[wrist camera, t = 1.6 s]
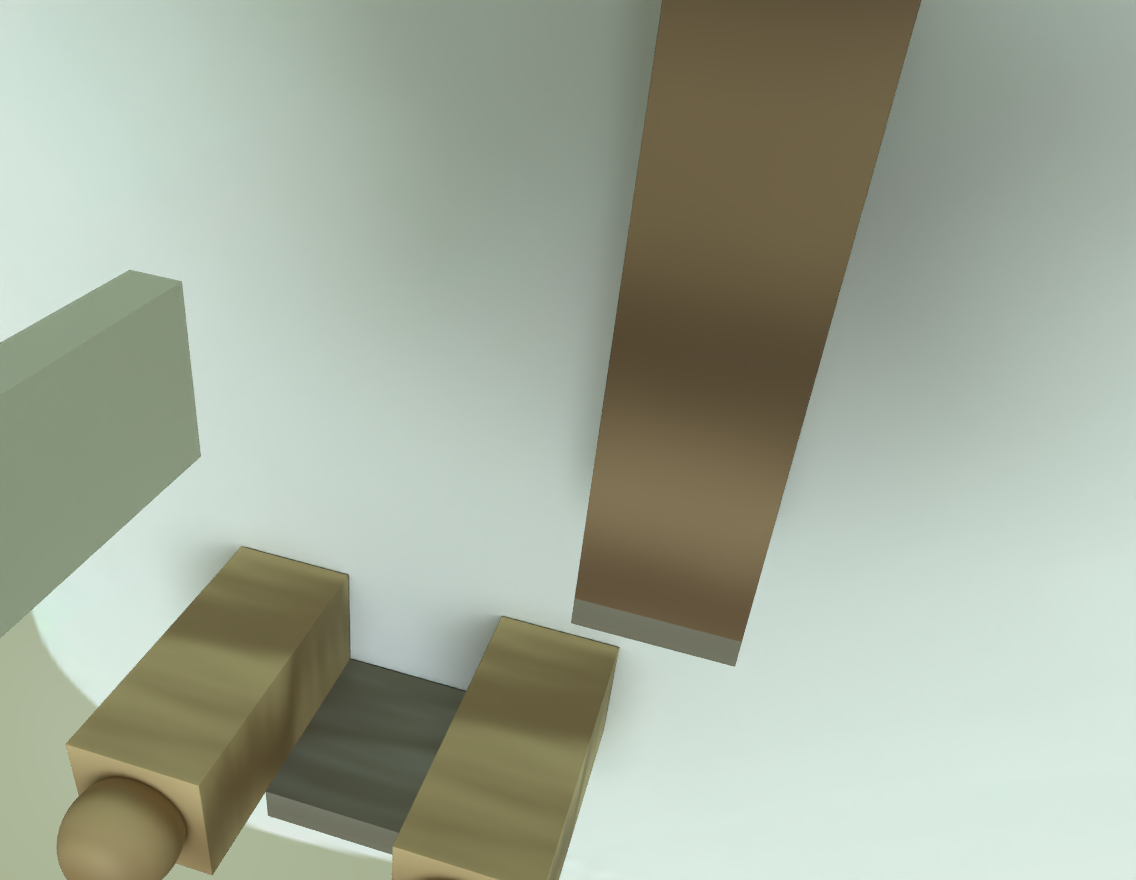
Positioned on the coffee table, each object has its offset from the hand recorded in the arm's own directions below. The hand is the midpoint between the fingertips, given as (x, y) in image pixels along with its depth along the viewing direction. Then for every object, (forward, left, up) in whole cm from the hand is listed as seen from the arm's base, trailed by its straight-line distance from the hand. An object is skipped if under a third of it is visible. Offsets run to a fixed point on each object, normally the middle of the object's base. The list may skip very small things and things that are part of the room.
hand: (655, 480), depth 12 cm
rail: (+2, 0, -13) cm, 13 cm away
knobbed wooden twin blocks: (+18, -8, -13) cm, 23 cm away
